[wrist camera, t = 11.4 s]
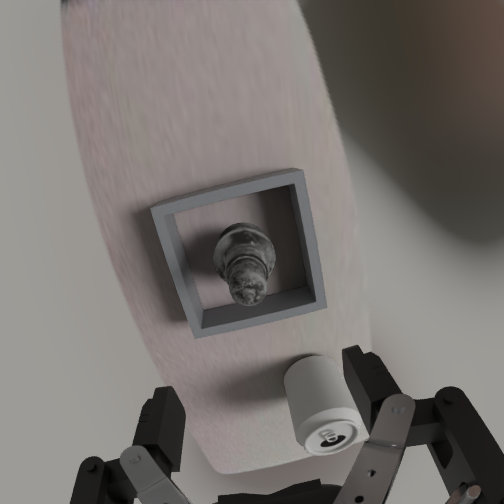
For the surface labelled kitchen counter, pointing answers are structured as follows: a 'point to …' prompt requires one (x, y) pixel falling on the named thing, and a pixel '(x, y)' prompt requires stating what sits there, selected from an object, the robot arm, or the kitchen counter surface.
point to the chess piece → (245, 262)
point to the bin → (271, 305)
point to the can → (321, 406)
